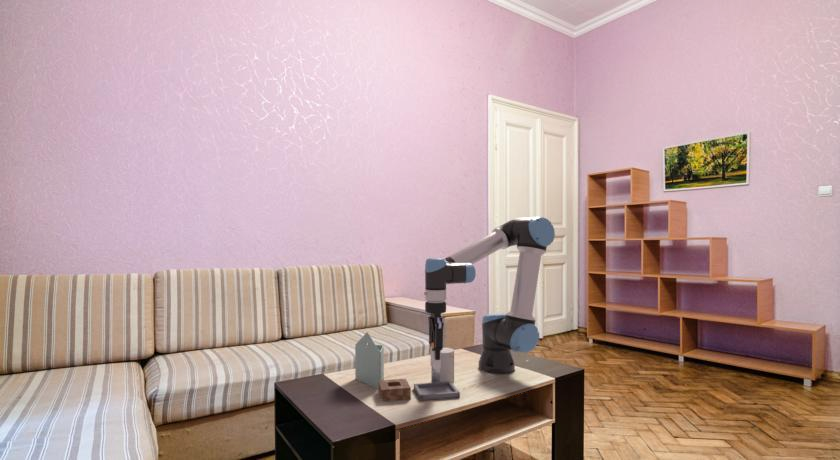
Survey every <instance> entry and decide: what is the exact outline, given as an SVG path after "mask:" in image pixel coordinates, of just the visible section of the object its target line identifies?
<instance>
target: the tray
mask: <svg viewBox="0 0 840 460" xmlns="http://www.w3.org/2000/svg"><path fill="white" fill-rule="evenodd" d="M413 390H414V391H415V394H416V396H417V397H418V399H419V401H420V402H421V401H423V402H424V401H434V400H435V401H436V400H445V399H446V400H449V399H459V398H460V397H461V392H460V391H459V390H458V388H457V387H456V386H455V385H454V383H451V381H447V382H440V383H438V384H433V383H431V382H424V383H423V382H422V383H413Z"/></svg>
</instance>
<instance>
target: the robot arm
mask: <svg viewBox="0 0 840 460" xmlns="http://www.w3.org/2000/svg"><path fill="white" fill-rule="evenodd" d="M555 236H556V233H555V227H554V225H553V224H552V222H551V221H550V220H549V219H548V218H546V217H544V216H532V217H531V216H529V217H516V218H514V219H513V218H512V219H511V220H508V221H506V222H505V223H503V224H501V225H499V226H498V227H496V228H494V229H492V232H491V233H489V234H488V235H485V236H484V237H482V238H480V239H478V240H476V241H475V242H472V243H471V244H469V245H468V246H466V247H464V248H462V249H460V250H458V251H456V252H454V253H452V254H451V255H449V256H447V257H445V258H443V257H432V258H430V257H429V258H426V260H425V264H424V274H425V275H424V276H425V277H424V280H425V281H424V282H425V285H424V286H425V287H424V289H425V290H424V292H423V295H424V296H425V297H424V298H425V299H424V300H425V304H424V311H425V313H427V314H429V315H430V316H428V318H427V319H428V343H429V346H430V348H431V343H432V342H434V349H432V351H433V369H441V350H442V349H443V348H444V347H443V346H444V345H443V344H444V325H445V324H444V322H443V318H442V314H445V313H446V312H447V303H446V301H447V285H451V284H452V285H454V284H468V283H472V282H474V280H475V278H476V268H475V266H474V264H476V263H477V262H479V261H481V260H482V259H484V258H486V257H488V256H490V255H492V254H494V253H495V252H497V251H499V250H506V249H508V248H510V247H513V246H516V248H517V250H518V252H519V255H518V261H517V262H518V263H517V268H516V273H515V280H514V287H513V293H512V300H511V307H510V310H509V311H508V312H507V313H505V312H503V313H501V312H500V313H499V312H498V313H487V314H484V315H483V316H482V320H481V326H482V327H481V328H482V329H481V331H482V337H481V338H482V349H481V352H480V353H481V354H480V356H479V360H478V369H479V370H480V371H482V372H485V373H490V374H509V373H513V372H514V371H515V368H516V365H515V361H514V358H513V354H512V352H511V350H512V351H513V352H516V353H522V354H528V353H530V352H532V351H533V350H534V349H535V348H536V347H537V345H538V343H539V340H540V330H539V329H538V327H537V326H536V318H535V317H534V315H533V313H534V308H535V307H534V305H535V299H536V293H537V286H538V280H539V279H538V278H539V273H540V266H541V262H542V261H541V260H542V256H543V255H544V254H545V253H546V252H547V247H548V246H550V245H552V243H554V240H555Z"/></svg>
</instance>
